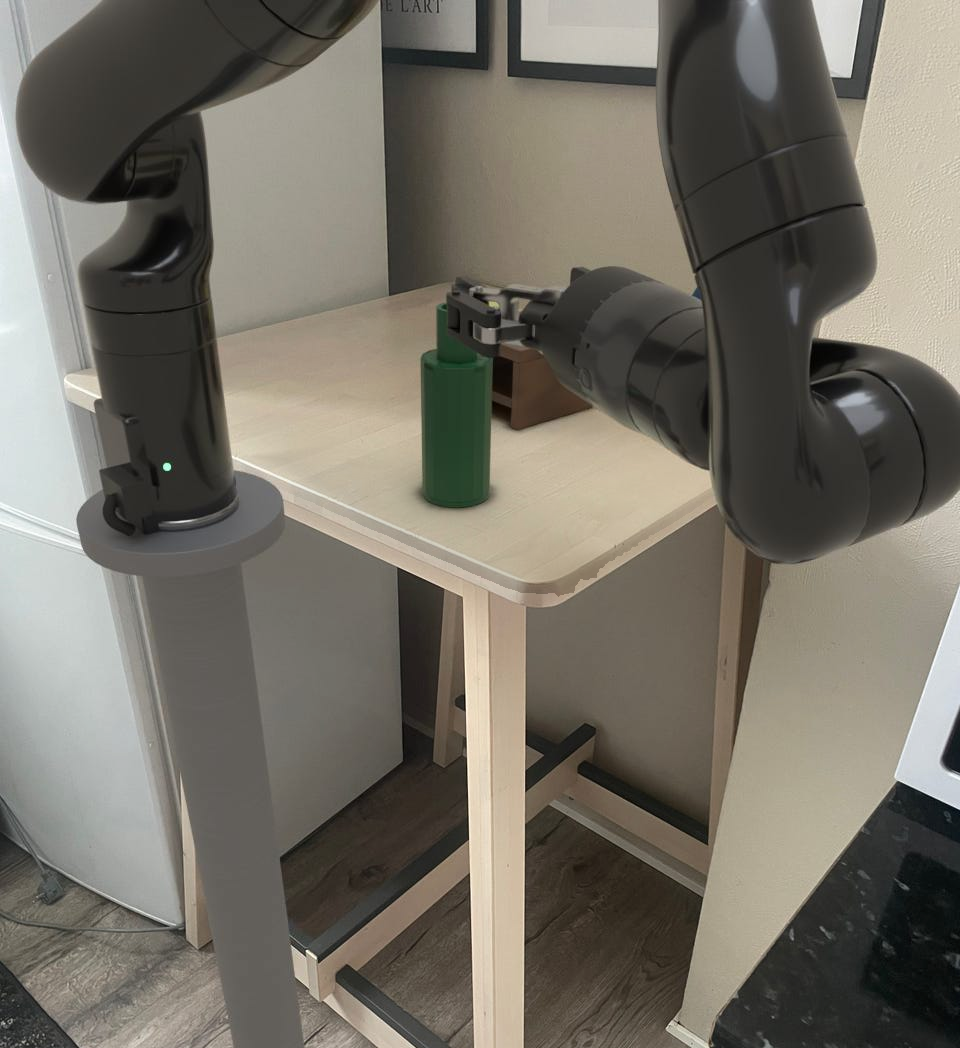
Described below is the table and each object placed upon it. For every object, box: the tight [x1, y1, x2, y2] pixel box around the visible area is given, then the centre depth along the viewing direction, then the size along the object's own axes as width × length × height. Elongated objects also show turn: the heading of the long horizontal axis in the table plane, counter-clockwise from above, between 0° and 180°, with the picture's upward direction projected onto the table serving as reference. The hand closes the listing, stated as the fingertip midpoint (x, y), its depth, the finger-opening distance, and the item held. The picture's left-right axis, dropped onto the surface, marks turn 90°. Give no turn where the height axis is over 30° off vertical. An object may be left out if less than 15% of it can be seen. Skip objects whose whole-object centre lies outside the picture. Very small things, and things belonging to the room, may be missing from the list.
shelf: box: [492, 311, 594, 431], centre depth 103 cm, size 11×11×8 cm
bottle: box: [420, 301, 493, 509], centre depth 82 cm, size 6×6×16 cm
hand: (518, 287), depth 67 cm, fingers open, 8 cm apart
